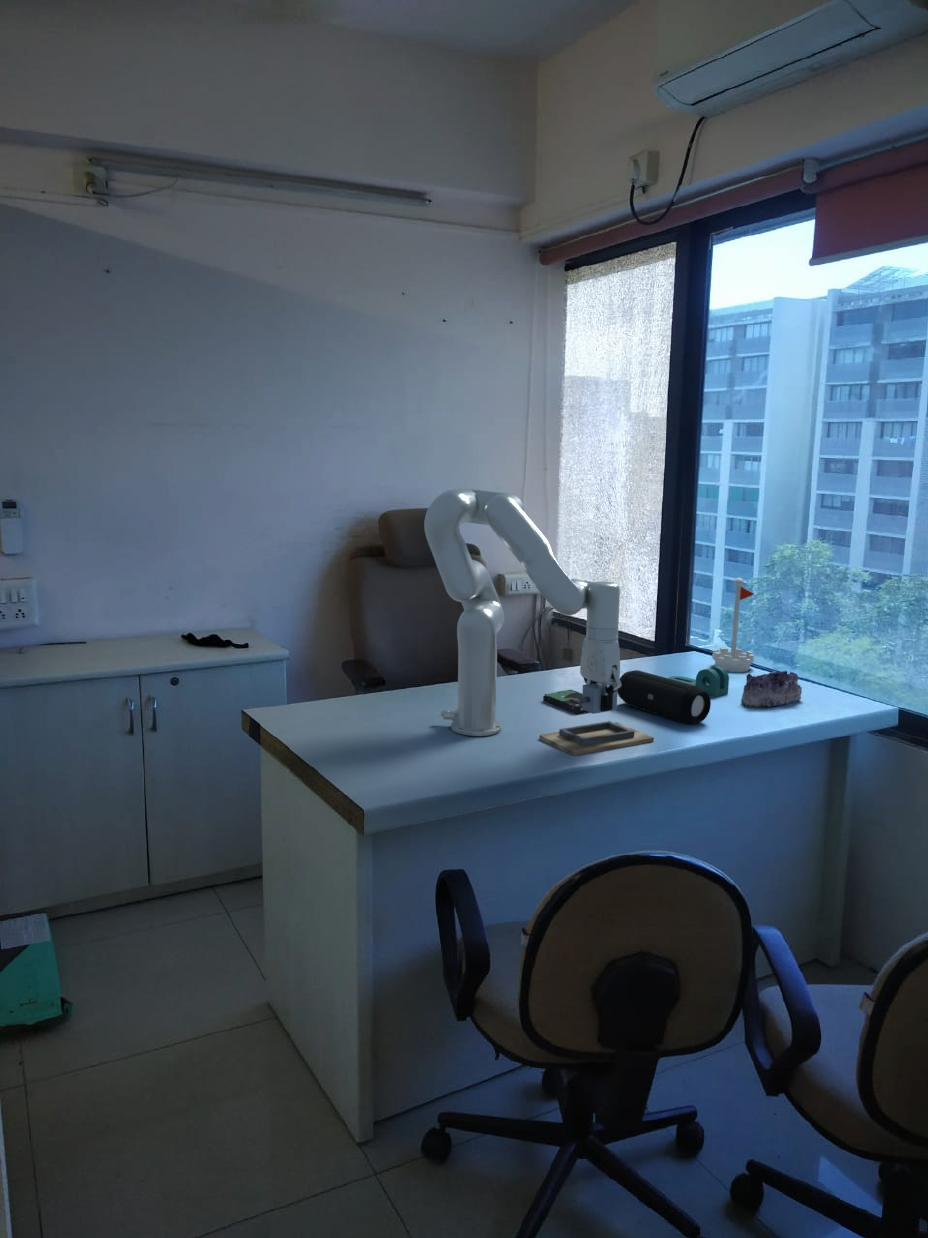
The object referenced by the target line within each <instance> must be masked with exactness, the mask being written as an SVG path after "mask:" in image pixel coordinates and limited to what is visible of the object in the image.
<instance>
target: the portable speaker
mask: <svg viewBox="0 0 928 1238" xmlns="http://www.w3.org/2000/svg"><path fill="white" fill-rule="evenodd" d="M619 678H620V681H621V684H622V686H621V687H619V688H618V689H617V692H618V694H617V696H618V697H619V699H621V700H622V701H623V702H624V703H625V704H626V705H628V706H631V707H633V708H637V709H641V710H643V711H647V712H650V713H653V714H656V715H659V716H663V717H666V718H669V719H671V720H675V721H679V722H682V723H686V724H689V725H690V724H697V723H701V722H704V720H705V719H707V717H708V716H709V713H710V711H711V703H712V702H711V697H710V696H709V695H708V693H706V692H705V691H704V690H703V689H701V688H700V687H697V686H694V685H691V684H687V683H683V682H679V681H676V680H672V679H668V678H669V677H664V676H662V675H661V676H660V675H657V674H653V673H649V672H645V671H642V670H639V669H638V670H637V669H636V670H635V669H634V670H630V671H626V672H624V673H623V674H622V675H621V676H620V677H619Z"/></svg>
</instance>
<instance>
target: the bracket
mask: <svg viewBox="0 0 928 1238" xmlns="http://www.w3.org/2000/svg"><path fill="white" fill-rule="evenodd" d="M667 678H668V679H672V680H676V681H679V682H683V683H687V684H691V685H694V686H697V687H700V688H701V689H703V690H704V691H705V692H706V693H708V695H709V697H710V698H715V699H716V698H720V697H722V696H726V695H728V693H729V684H730V676H729V673H728V671H726V670H725V669H724V668H723V667H720V666H715V665H714V666H712V667H709V668H705V669H704V668H703V669H700V670H699V671H698V673H696V676H695V678H692V677H691V678H690V677H688V676H686V677H685V676H678V675H677V676H676V675H674V676H669V677H667Z"/></svg>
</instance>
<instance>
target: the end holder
mask: <svg viewBox="0 0 928 1238" xmlns="http://www.w3.org/2000/svg"><path fill="white" fill-rule="evenodd" d="M654 739H655V738H654V737H653V736H652V735H649V734H646V733H643V732H641V731H640V730H636V729H635V728H632V727H629V726H627V725H624V724H622V723H621V722H617V721H616V722H613V721H610V720H607V721H602V722H601V721H600V722H595V723H589V724H584V725H583V724H582V725H578V726H571V727H565V728H559V731H556V732H550V733H542V734H539V740H540V741H542V742H545V743H547V744H548V745H551V746H553V747H555V748H557V749H559V750H561V751H562V752H565V753H567V754H569V755H572V756H573V757H575V756H576V757H577V756H581V755H582V756H583V755H587V754H588V755H589V754H593V753H597V752H598V753H599V752H603V751H608V750H609V751H610V750H615V749H620V748H625V747H626V748H627V747H631V746H635V745H637V746H638V745H642V744H647V743H648V744H649V743H653V742H654Z"/></svg>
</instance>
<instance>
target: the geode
mask: <svg viewBox="0 0 928 1238" xmlns="http://www.w3.org/2000/svg"><path fill="white" fill-rule="evenodd" d="M799 679H800V678H799V676H798V674H797V673H795V672H792V671H790V672H789V673H788V671H787V670H785V671H783V670H781V671H777V670H774V671H771V672H768V673H767V674H766V673H764V674H760V675H756V676H755V675H752V674H751V673H750V672H748V674H747V675H746V679H745V680H746V684H745V685H744V687H743V692H742V695H741V700H740V701H741V704H742V705H743V706H744V707H746V708H750V709H751V708H753V709H767V708H770V707H775V706H781V705H782V706H783V705H785V704H786V705H788V704H792V703H794V702H797V701H800V700H801V699H802V696H801V695H802V690H803V689H802V688H803V687H802V686H801V685H800V684H799V682H798V681H799Z"/></svg>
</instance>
